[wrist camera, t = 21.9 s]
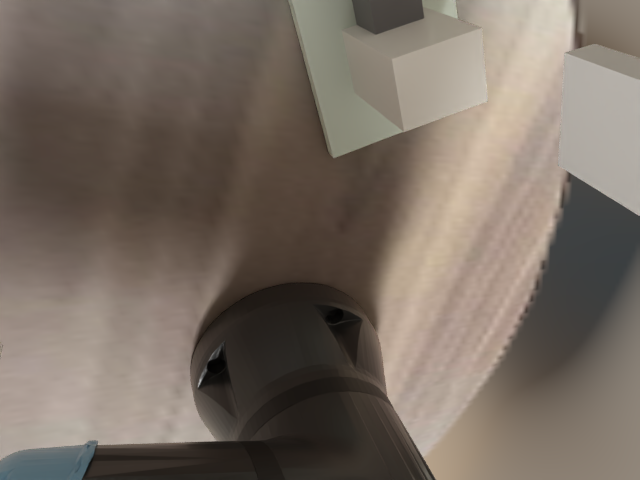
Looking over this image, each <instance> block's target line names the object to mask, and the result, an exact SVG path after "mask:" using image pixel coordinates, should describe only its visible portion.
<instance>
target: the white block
mask: <svg viewBox="0 0 640 480" xmlns="http://www.w3.org/2000/svg"><path fill="white" fill-rule="evenodd" d="M352 3H353V8H354V13H355V18H356V24H357V25H355V26H352V27H349V28H346V29H343V30H341V31H342V35H343V40H344V45H345V50H346V54H347V59H348V64H349V68H350V73H351V78H352V83H353V87H354V92H355V94H357V95H358V96H359V97H360V98H362V99H363V100H364V101H365V102H367V103H368V104H369V105H371V106H372V107H373V108H374V109H376V110H377V111H378V112H379V113H381V114H382V115H383V116H384V117H386V118H387V119H388V120H389V121H391V122H392V123H393V124H394V125H396V126H397V127H398V128H399V129H401V130H402V131H403V132H406V131H409V130H412V129H414V128H417V127H420V126H423V125H425V124H428V123H431V122H433V121H436V120H439V119H442V118H444V117H447V116H450V115H452V114H455V113H458V112H461V111H463V110H466V109H469V108H472V107H474V106H477V105H480V104H482V103H485V102H488V96H487V83H486V71H485V58H484V46H483V33H482V27H479V26H476V25H473V24H470V23H468V22H465V21H462V20H459V19H456V18H453V17H451V16H448V15H445V14H442V13H439V12H437V11H434V10H431V9H428V8H425V7H423V5H422V0H352Z"/></svg>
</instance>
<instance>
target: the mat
mask: <svg viewBox="0 0 640 480" xmlns="http://www.w3.org/2000/svg"><path fill="white" fill-rule="evenodd" d="M288 2H289V6H290V9H291V13H292V17H293V21H294V24H295V28H296V32H297V35H298V39H299V43H300V47H301V50H302V54H303V58H304V62H305V65H306V69H307V73H308V77H309V80H310V84H311V88H312V91H313V95H314V99H315V103H316V106H317V110H318V114H319V118H320V121H321V125H322V129H323V132H324V136H325V140H326V144H327V147H328V151H329V154H330V155H331V156H332V157H333V158H336V157H339V156H341V155H344V154H347V153H349V152H352V151H354V150H357V149H360V148H362V147H365V146H367V145H370V144H373V143H375V142H378V141H381V140H383V139H386V138H388V137H391V136H394V135H396V134H399V133H402V132H403V131H402V130H401V129H399V128H398V127H397V126H396V125H394V124H393V123H392V122H391V121H389V120H388V119H387V118H386V117H384V116H383V115H382V114H381V113H379V112H378V111H377V110H376V109H374V108H373V107H372V106H371V105H369V104H368V103H367V102H365V101H364V100H363V99H362V98H360V97H359V96H358V95H357V94H355V92H354V87H353V83H352V78H351V73H350V68H349V64H348V59H347V54H346V50H345V45H344V40H343V35H342V31H341V30H343V29H346V28H349V27H352V26H355V25H357V24H356V18H355V13H354V8H353V3H352V0H288ZM422 5H423V7H425V8H428V9H431V10H434V11H437V12H439V13H442V14H445V15H448V16H451V17H453V18H456V19H458V17H457V8H456V0H422Z"/></svg>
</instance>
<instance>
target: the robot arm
mask: <svg viewBox="0 0 640 480" xmlns="http://www.w3.org/2000/svg"><path fill="white" fill-rule="evenodd" d="M558 166H560V167H561V168H563V169H565V170H566V171H568V172H569V173H571V174H573V175H574V176H576V177H578V178H579V179H581V180H582V181H584V182H586V183H587V184H589V185H591V186H592V187H594V188H595V189H597V190H599V191H600V192H602V193H603V194H605V195H607V196H608V197H610V198H612V199H613V200H615V201H617V202H618V203H620V204H621V205H623V206H625V207H626V208H628V209H629V210H631V211H633V212H634V213H636V214H637V215H639V216H640V58H637V57H634V56H631V55H628V54H625V53H621V52H619V51H615V50H612V49H609V48H606V47H603V46H600V45H597V44H593V45H590V46H586V47H583V48H579V49H576V50H572V51H569V52H566V53H565V55H564V72H563V90H562V107H561V124H560V141H559V159H558ZM2 348H3V345H2V343H1V342H0V357H1V353H2ZM190 376H191V385H192V390H193V396H194V401H195V405H196V408H197V411H198V413H199V415H200V417H201V419H202V421H203V422H204V424H205V425H206V427H207V428H208V429H209V431H210V432H211V434H212V435H213V436H214V438H215V439H216V440H217V441H215V442H185V443H154V444H123V445H97V444H98V441H88V442H87V443H86V444H85V445H78V446H65V447H53V448H40V449H28V450H22V451H18V452H15V453H13V454H11V455H9V456H7V457H5V458H3V459H2V460H1V461H0V480H436V479H435V477H434V476H433V474H432V472H431V471H430V469H429V467H428V465H427V464H426V462H425V460H424V459H423V457H422V455H421V454H420V452H419V450H418V448H417V447H416V445H415V443H414V442H413V440H412V438H411V437H410V435H409V433H408V432H407V430H406V428H405V426H404V425H403V423H402V421H401V420H400V418H399V416H398V415H397V413H396V412H395V410H394V408H393V406H392V404H391V403H390V401H389V399H388V397H387V391H386V383H385V376H384V368H383V360H382V352H381V346H380V342H379V339H378V336H377V333H376V331H375V329H374V327H373V326H372V324H371V322H370V321H369V319H368V317H367V316H366V314H365V313H364V311H363V310H362V308H361V307H360V306H359V305H358V304H357V303H356V302H355V301H354V300H353V299H352V298H350V297H349V296H348V295H346V294H344V293H342V292H341V291H338V290H336V289H334V288H331V287H328V286H323V285H318V284H310V283H293V284H285V285H279V286H275V287H271V288H268V289H264V290H262V291H259V292H256V293H254V294H252V295H250V296H248V297H246V298H244V299H242V300H240V301H239V302H237V303H235V304H234V305H232V306H231V307H230V308H228V309H227V310H226V311H224V312H223V313H222V314H221V315H220V316H219V317H218V318H217V319H216V320H215V321H214V322H213V323H212V324H211V325H210V326H209V327H208V329H207V330H206V331H205V333H204V334H203V336H202V337H201V339H200V341H199V343H198V345H197V347H196V349H195V352H194V355H193V358H192V363H191V372H190Z"/></svg>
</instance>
